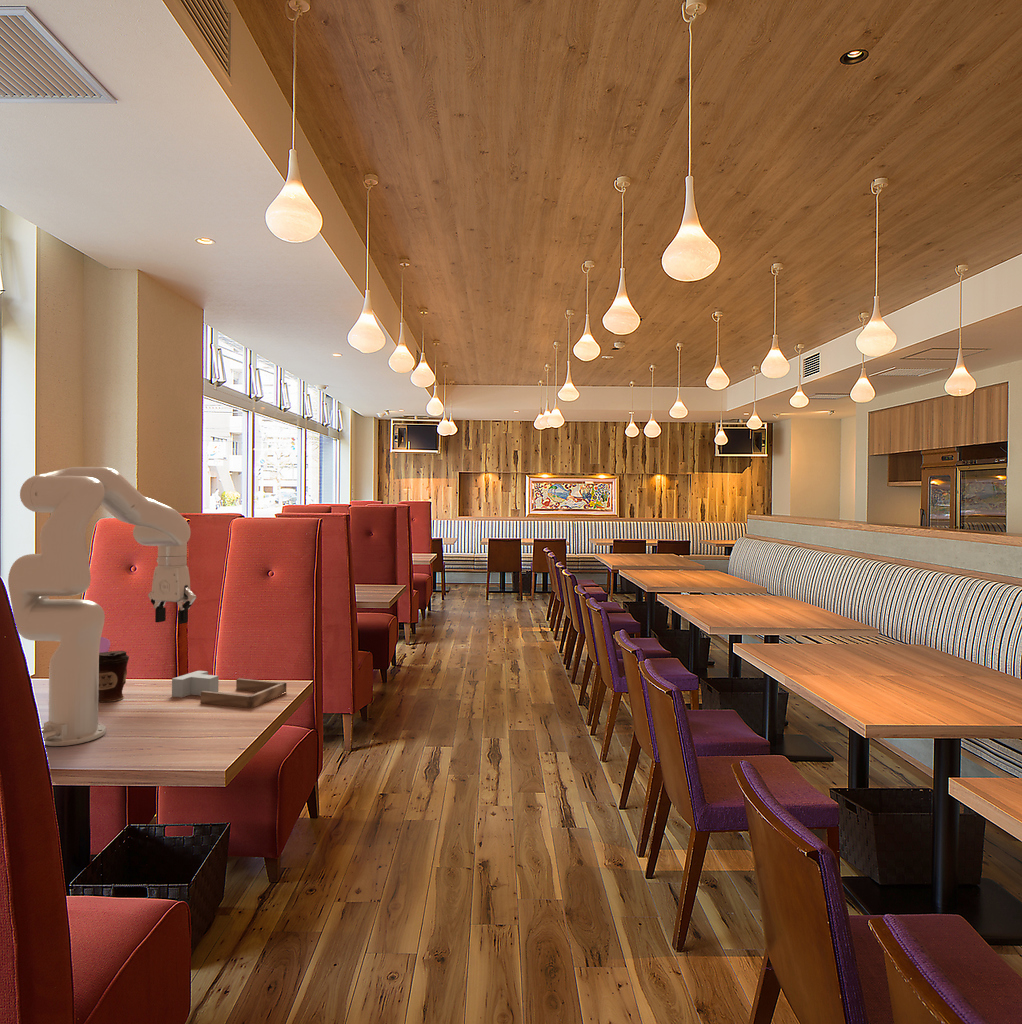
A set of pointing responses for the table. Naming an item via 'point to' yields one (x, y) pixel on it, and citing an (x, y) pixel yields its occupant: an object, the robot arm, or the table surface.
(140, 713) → the table surface
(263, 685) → the corral
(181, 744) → the table surface
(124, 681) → the coffee cup
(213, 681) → the tee block
